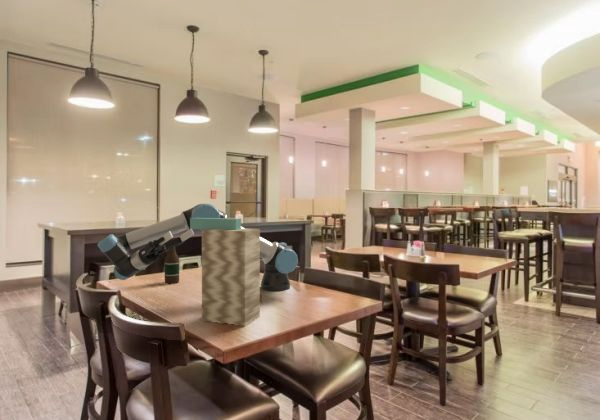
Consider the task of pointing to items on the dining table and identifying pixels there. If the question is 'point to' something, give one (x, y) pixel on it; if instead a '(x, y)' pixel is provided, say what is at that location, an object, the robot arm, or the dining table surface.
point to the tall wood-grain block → (231, 276)
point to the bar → (215, 223)
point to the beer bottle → (172, 266)
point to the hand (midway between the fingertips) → (182, 232)
